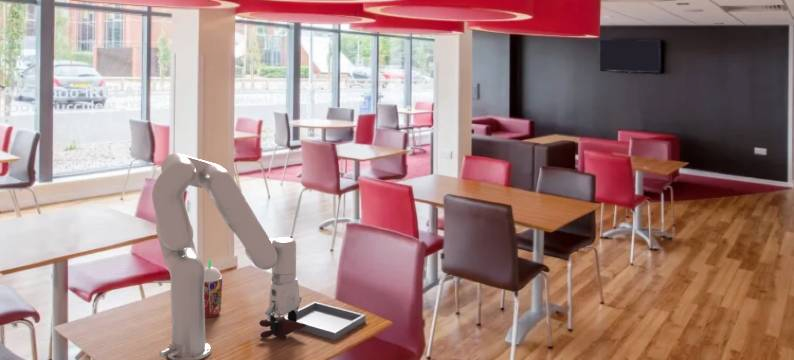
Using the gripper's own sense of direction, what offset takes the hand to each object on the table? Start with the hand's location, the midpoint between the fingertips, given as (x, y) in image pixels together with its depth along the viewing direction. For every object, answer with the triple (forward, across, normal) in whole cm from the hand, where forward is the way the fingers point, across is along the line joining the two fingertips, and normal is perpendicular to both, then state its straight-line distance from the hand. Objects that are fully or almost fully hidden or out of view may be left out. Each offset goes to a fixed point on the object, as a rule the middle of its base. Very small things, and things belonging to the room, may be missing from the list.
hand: (283, 328), depth 211 cm
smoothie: (+3, 0, +33) cm, 33 cm away
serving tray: (+3, +16, -4) cm, 17 cm away
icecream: (+3, 0, 0) cm, 3 cm away
